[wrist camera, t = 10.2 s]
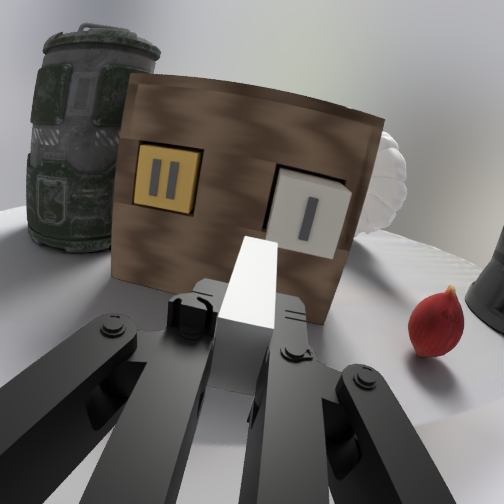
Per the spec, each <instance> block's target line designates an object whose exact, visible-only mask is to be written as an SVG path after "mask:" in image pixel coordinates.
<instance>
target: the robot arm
mask: <svg viewBox="0 0 504 504" xmlns="http://www.w3.org/2000/svg"><path fill="white" fill-rule="evenodd" d="M277 246H278V243H276V242H271V241H267V240H262V239H257V238H253V237H248V236H245V237H244V240H243V243H242V246H241V249H240V252H239V255H238V258H237V261H236V264H235V267H234V270H233V273H232V276H231V279H230V282H229V283H225V282H220V281H216V280H211V279H207V278H204V279H203V280H201V281H199V282H198V283H196V285H195V287H194V289H193V290H192V292H191V293H184V294H179V295H176V296H173V297H172V298H171V299H170V300H169V302H168V317H167V327H166V329H164V330H159V331H142V330H137V326H136V324H135V322H134V321H133V320H132V319H130V318H129V317H127V316H124V315H121V314H106V315H102V316H100V317H98V318H96V319H94V320H93V321H91V322H90V323H89V324H87V325H86V326H84V327H83V328H81V329H80V330H79V331H77V332H76V333H74V334H73V335H72V336H70V337H69V338H67V339H66V340H65V341H63V342H62V343H60V344H59V345H58V346H56V347H55V348H54V349H52V350H51V351H49V352H48V353H47V354H45V355H44V356H43V357H41V358H40V359H38V360H37V361H36V362H34V363H33V364H32V365H30V366H29V367H28V368H26V369H25V370H24V371H22V372H21V373H20V374H18V375H17V376H16V377H14V378H13V379H12V380H10V381H9V382H8V383H6V384H5V385H4V386H2V387H1V388H0V504H43V503H44V501H45V500H46V499H47V498H48V497H49V496H50V495H51V494H52V493H53V492H54V491H55V490H56V488H58V486H59V485H60V484H61V483H62V482H63V481H64V480H65V479H66V478H67V477H68V476H69V475H70V474H71V472H72V471H73V470H74V469H75V468H76V467H77V466H78V465H79V464H80V463H81V462H82V461H83V460H84V458H85V457H86V456H87V455H88V454H89V453H90V452H91V451H92V450H93V449H94V448H95V446H96V445H97V444H98V443H99V442H100V441H101V440H102V439H103V438H104V437H105V436H106V434H107V433H108V432H109V431H110V430H111V429H112V428H113V427H114V426H115V425H116V426H115V428H114V430H113V432H112V434H111V436H110V438H109V440H108V442H107V444H106V447H105V448H104V450H103V452H102V455H101V457H100V459H99V461H98V463H97V465H96V467H95V470H94V472H93V474H92V476H91V478H90V480H89V482H88V485H87V487H86V489H85V491H84V494H83V496H82V498H81V500H80V502H79V504H176V500H177V496H178V493H179V489H180V485H181V482H182V478H183V474H184V471H185V467H186V463H187V460H188V456H189V452H190V448H191V445H192V441H193V437H194V434H195V430H196V426H197V423H198V419H199V415H200V412H201V408H202V405H203V401H204V396H205V390H206V385H207V386H211V387H215V388H219V389H224V390H229V391H233V392H238V393H243V394H248V395H254V393H255V398H254V401H253V404H252V408H251V411H250V414H249V417H248V420H247V422H249V430H248V438H247V445H246V453H245V461H244V468H243V475H242V482H241V489H240V496H239V503H238V504H329V489H328V486H329V488H330V491H331V494H332V497H333V500H334V503H335V504H456V502H455V500H454V498H453V496H452V494H451V493H450V491H449V489H448V487H447V486H446V484H445V482H444V480H443V478H442V476H441V474H440V473H439V471H438V469H437V467H436V466H435V464H434V462H433V460H432V459H431V457H430V455H429V453H428V451H427V449H426V448H425V446H424V444H423V443H422V441H421V439H420V437H419V436H418V434H417V433H416V431H415V429H414V427H413V425H412V424H411V422H410V420H409V419H408V417H407V415H406V414H405V412H404V410H403V409H402V407H401V405H400V404H399V402H398V400H397V399H396V397H395V395H394V394H393V392H392V390H391V389H390V387H389V386H388V384H387V382H386V381H385V379H384V378H383V376H382V375H381V374H380V373H379V372H378V371H376V370H375V369H373V368H372V367H369V366H366V365H363V364H353V365H349V366H347V367H346V368H345V369H344V370H343V372H339V371H337V370H334V369H331V368H329V367H327V366H325V365H323V364H321V363H320V362H318V361H317V356H316V353H315V351H314V350H313V349H312V348H311V347H310V346H309V342H308V332H307V323H306V315H305V314H306V313H305V305H304V304H303V303H302V301H301V300H300V299H299V297H295V296H290V295H286V294H281V293H276V273H277ZM465 300H466V303H467V304H468V306H469V307H470V309H471V310H472V311H473V312H474V313H475V314H476V315H477V316H478V317H479V318H481V319H482V320H483V321H484V322H486V323H487V324H488V325H490V326H491V327H493V328H494V329H496V330H498V331H500V332H501V333H503V334H504V226H503V230H502V232H501V235H500V238H499V240H498V243H497V246H496V249H495V251H494V254H493V256H492V259H491V261H490V262H489V264H488V265H487V266H486V267H485V269H484V270H483V271H482V273H481V274H480V276H479V277H478V279H477V280H476V281H475V282H473V283H472V284H471V286H470V287H469V289H468V292H467V294H466V296H465ZM255 390H256V391H255Z"/></svg>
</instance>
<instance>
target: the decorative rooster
mask: <svg viewBox="0 0 504 504" xmlns="http://www.w3.org/2000/svg"><path fill="white" fill-rule="evenodd" d="M348 108H349V107H348ZM351 109H352V108H351ZM398 150H399V145H398V144H397V143H396V142H395V141H394V139H393V138H392V137H391V136H390V135H389V134H388V133H386V132H382V135H381V139H380V144H379V148H378V152H377V156H376V160H375V164H374V168H373V172H372V176H371V179H370V183H369V187H368V191H367V194H366V198H365V201H364V205H363V208H362V212H361V215H360V219H359V222H358V225H357V228H356V232H355V235H354V237H356V236H357V235H358V234H360V233H362V232H364V233H366V234H369V233H371V232H375V231H377V230H378V229H379V228H385V227H387V226H389V225H390V224H391V223H392V221H393V219H394V217H395V216H396V214H397V211H396V210H399V209H400V208H401V207H402V205H403V201H404V200H405V199H406V196H407V187H406V185H405V183H404V182H403V181H405V180H406V178H407V173H406V162H405V160H404V157H403V156H402V155H401V153H400V152H399V151H398Z"/></svg>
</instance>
